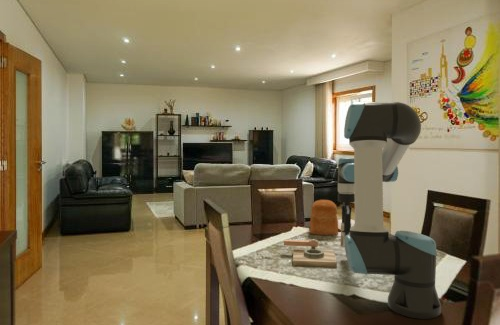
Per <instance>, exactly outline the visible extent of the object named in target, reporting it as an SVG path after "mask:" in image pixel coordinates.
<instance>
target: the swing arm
mask: <svg viewBox="0 0 500 325" xmlns="http://www.w3.org/2000/svg"><path fill="white" fill-rule="evenodd" d="M283 246H288V247H290V246H293V247H310V248H311V247H315V248H317V247H318V246H319V240H317V239H314V238H313V239H309V240H303V239H301V240H300V239H283Z"/></svg>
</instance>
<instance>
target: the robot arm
mask: <svg viewBox="0 0 500 325" xmlns="http://www.w3.org/2000/svg"><path fill="white" fill-rule="evenodd" d="M421 131H422V123H421V119H420V116H419V114H418V113H417V112H416V110H414V108H413V107H411V106H410V105H408V104H406V103H403V102H400V101H391V102H389V101H388V102H387V101H385V102H384V101H363V102H362V101H361V102H353V103H352V104H350V105H349V107H348V109H347V111H346V116H345V121H344V130H343V136H344V139H347V140H349V142H348V143H349V144H348V145H349V146H350V147H351V148H352V149H353V154H354V155H353V156H354V157H340V158H339V159H338V162H337V167H338V168H337V171H338V172H337V173H338V174H337V192H338V193H337V201H338V202H339V203H342V205H341V207H340V209H341V223H344V231H342V232H343V247H342V248H344V249H345V257H346V261H347V265H348V268H349V269H350V271H351V272H353V273H354V274H364V275H365V276H366V275H386V276H387V275H388V276H389V275H390V276H393V277H394V278H393V279H394V280H393V283H392V286H391V288H390V291H389V292H388V293H389V294H388V296H387V306H388V308H389V309H390V310H392V311H393V312H394V313H396V314H399V315H401V316H404V317H408V318H413V319H417V320H418V319H421V320H430V319H435V318H438V317H439V316H440V315H441V314H442V312H441V311H442V306H441V301H440V298H439V296H438V292H437V289H436V273H437V272H436V270H437V268H436V267H437V256H438V253H437V244H436V243H437V242H436V241H435V240H434V238H432V237H430V236H428V235H425V234H422V233H418V232H414V231H413V232H412V231H408V230H397V231H396V232H395V233H394V236H391V235H390V234H389V232H390V231H389V229H388V228H387V227H385V225H384V196H383V195H384V191H383V190H384V189H383V187H384V186H383V185H384V183H391V182H392V183H393V182H396V181H397V180H398V177H399V168H398V166H399V164H400V162H401V160H402V158H403V156H404V155H405V154H406V152H407V151H408V149H409V146H410V145H412V144H414V143H415V142H416V141H417V140H418V138H419V137H420V135H421ZM351 203H354V224H353V225H352V221H351V220H352V206H351ZM389 235H390V236H389Z"/></svg>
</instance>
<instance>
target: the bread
mask: <svg viewBox="0 0 500 325" xmlns="http://www.w3.org/2000/svg"><path fill="white" fill-rule="evenodd" d="M337 208H338V206H337V204H335V202H333V200H329V199H318V200H315V201H314V202H313V203H312V204H311V215H310V220H309V221H310V222H309V223H310V224H309V230H310V234H312V235H318V236H335V235H338V233H339V221H338V216H337V214H338V211H337V210H338V209H337Z"/></svg>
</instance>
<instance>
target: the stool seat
mask: <svg viewBox="0 0 500 325" xmlns="http://www.w3.org/2000/svg"><path fill="white" fill-rule="evenodd" d="M292 253H293V255H292V265H293V266H302V267H303V266H307V267H326V268H337V267H338V261H337V258H336V254H335V250H334V249H320V248H318V249H317V248H316V247H311V246H310V248H293V252H292Z"/></svg>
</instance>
